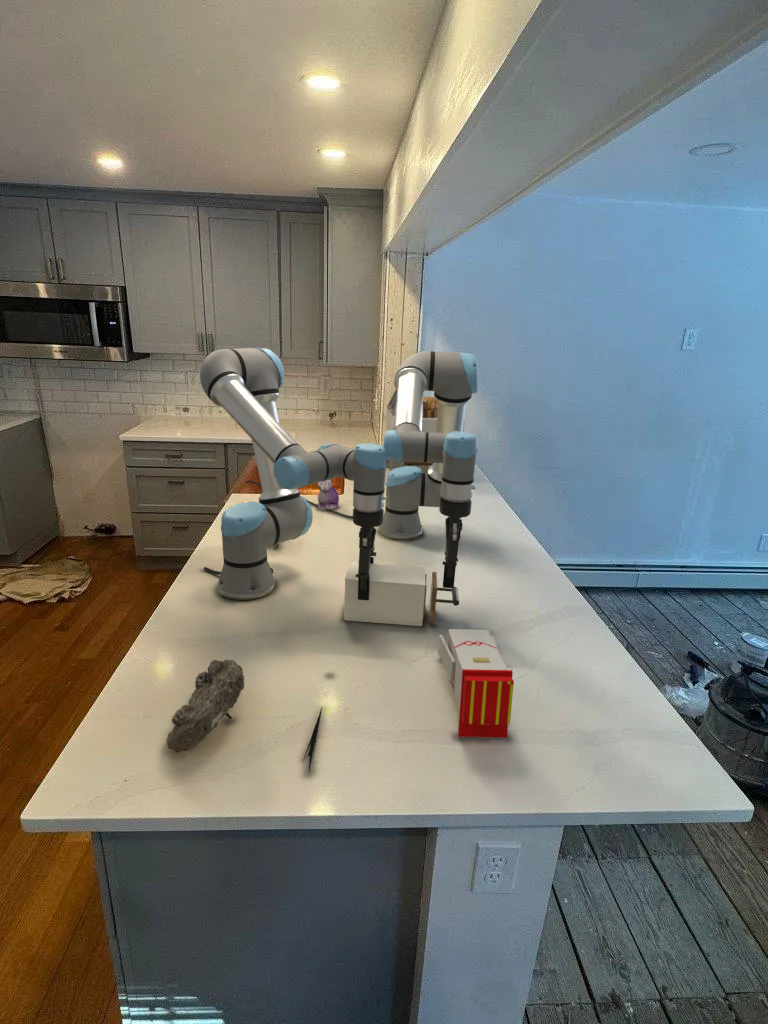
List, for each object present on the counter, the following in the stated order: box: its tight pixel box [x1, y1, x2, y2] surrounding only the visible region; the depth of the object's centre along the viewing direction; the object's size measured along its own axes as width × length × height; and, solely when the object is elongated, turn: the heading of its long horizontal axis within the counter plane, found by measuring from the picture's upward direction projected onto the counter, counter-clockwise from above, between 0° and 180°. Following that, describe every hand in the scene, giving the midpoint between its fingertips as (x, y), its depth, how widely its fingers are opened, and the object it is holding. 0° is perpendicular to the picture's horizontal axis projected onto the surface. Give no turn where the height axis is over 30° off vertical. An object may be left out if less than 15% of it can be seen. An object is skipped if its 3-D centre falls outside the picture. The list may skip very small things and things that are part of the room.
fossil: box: [166, 658, 245, 754], centre depth 106 cm, size 22×10×15 cm
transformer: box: [385, 389, 465, 472], centre depth 268 cm, size 34×33×41 cm
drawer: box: [423, 571, 460, 624], centre depth 145 cm, size 24×9×10 cm, turn 86°
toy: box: [437, 628, 515, 738], centre depth 117 cm, size 12×13×30 cm
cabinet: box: [343, 561, 426, 627], centre depth 146 cm, size 20×10×12 cm, turn 86°
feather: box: [301, 673, 332, 771], centre depth 108 cm, size 2×28×2 cm
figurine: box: [317, 479, 340, 511], centre depth 220 cm, size 9×10×15 cm
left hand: (365, 589), depth 146 cm, fingers closed on cabinet, 10 cm apart
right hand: (448, 586), depth 143 cm, fingers closed
